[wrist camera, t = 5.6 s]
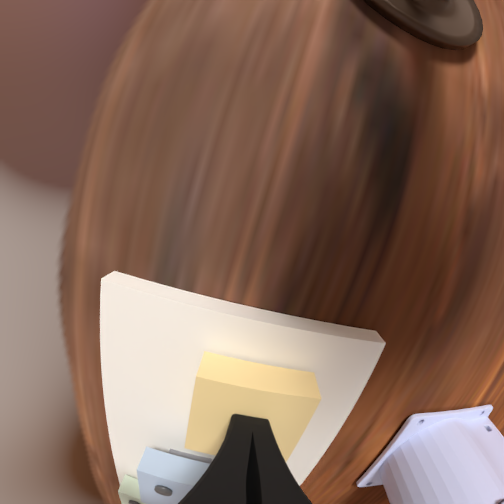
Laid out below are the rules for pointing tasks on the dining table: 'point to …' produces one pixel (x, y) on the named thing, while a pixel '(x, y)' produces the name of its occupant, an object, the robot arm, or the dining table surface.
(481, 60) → the dining table surface
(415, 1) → the candlestick
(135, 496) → the tile three
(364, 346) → the panel
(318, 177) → the dining table surface
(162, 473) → the tile two
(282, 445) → the tile one
